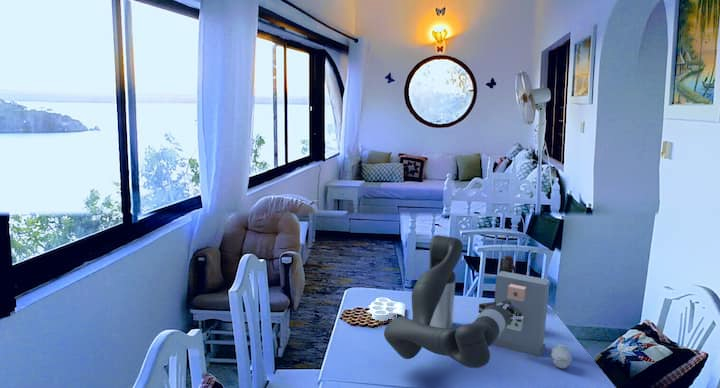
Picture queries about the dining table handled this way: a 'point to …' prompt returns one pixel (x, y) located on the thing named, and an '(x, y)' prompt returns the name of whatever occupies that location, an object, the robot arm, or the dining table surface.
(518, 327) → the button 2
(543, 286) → the large grey rectangular box
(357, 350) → the dining table surface
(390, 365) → the dining table surface
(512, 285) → the pink rectangular block
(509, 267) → the lantern
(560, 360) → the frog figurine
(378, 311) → the white bumpy piece
